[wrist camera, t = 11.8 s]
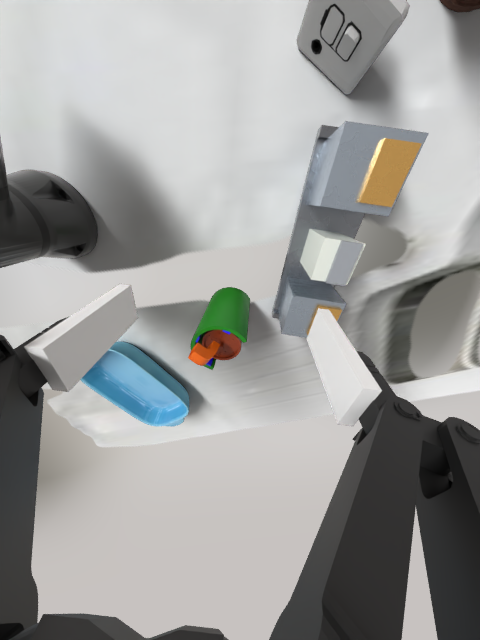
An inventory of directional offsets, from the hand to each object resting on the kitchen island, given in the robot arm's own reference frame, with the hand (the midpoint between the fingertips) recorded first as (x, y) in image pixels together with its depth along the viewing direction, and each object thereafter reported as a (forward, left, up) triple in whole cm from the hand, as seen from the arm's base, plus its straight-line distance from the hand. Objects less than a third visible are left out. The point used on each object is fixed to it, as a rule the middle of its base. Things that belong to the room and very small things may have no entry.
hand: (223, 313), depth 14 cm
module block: (+14, +1, -27) cm, 30 cm away
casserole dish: (-27, -46, -29) cm, 61 cm away
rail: (+14, +1, -29) cm, 32 cm away
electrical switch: (+8, +25, -29) cm, 39 cm away
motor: (-2, -15, -29) cm, 33 cm away
